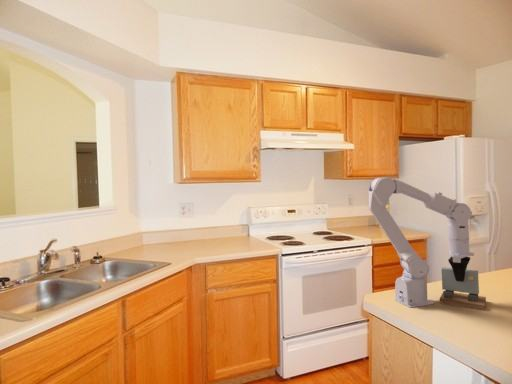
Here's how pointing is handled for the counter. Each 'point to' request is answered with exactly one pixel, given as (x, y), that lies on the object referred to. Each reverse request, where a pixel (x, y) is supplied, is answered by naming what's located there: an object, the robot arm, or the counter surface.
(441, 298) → the cabinet base
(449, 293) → the short dark cabinet legs
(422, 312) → the counter surface
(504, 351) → the counter surface
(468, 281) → the grey rectangular block
